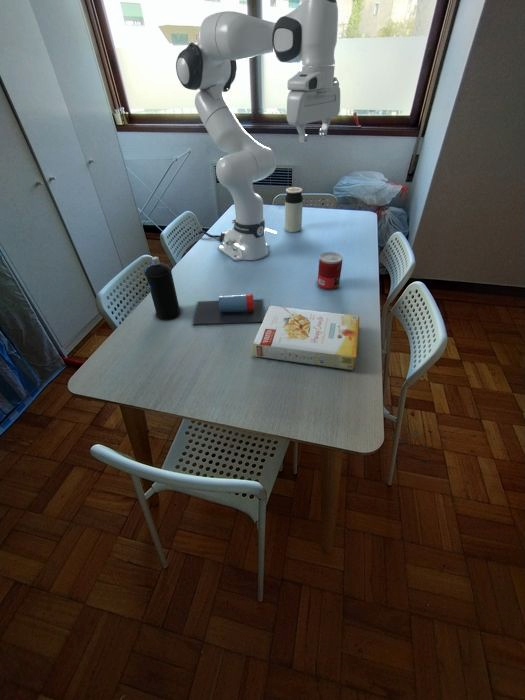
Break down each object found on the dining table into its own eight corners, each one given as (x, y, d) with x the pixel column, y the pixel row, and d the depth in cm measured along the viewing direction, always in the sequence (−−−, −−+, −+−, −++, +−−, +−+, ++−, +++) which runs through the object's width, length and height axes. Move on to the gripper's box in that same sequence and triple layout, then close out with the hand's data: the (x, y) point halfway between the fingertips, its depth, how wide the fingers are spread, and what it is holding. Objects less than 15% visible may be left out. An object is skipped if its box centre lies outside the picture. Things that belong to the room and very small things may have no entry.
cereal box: (357, 356, 90) (252, 342, 95) (354, 372, 93) (252, 357, 99) (360, 313, 105) (268, 303, 110) (357, 328, 108) (268, 317, 114)
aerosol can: (185, 308, 119) (174, 253, 106) (173, 322, 113) (159, 266, 100) (164, 304, 121) (150, 250, 108) (151, 317, 115) (135, 262, 102)
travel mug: (301, 232, 164) (303, 192, 153) (285, 232, 165) (285, 192, 153) (300, 225, 170) (302, 186, 158) (284, 226, 171) (284, 187, 159)
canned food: (338, 291, 124) (342, 262, 117) (316, 289, 126) (318, 261, 119) (339, 280, 130) (343, 252, 123) (317, 278, 131) (320, 251, 124)
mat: (193, 325, 112) (193, 324, 111) (198, 302, 121) (198, 301, 121) (262, 323, 111) (262, 321, 111) (261, 300, 121) (261, 299, 121)
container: (218, 301, 110) (252, 300, 110) (219, 292, 115) (252, 290, 114) (220, 316, 114) (253, 314, 114) (221, 306, 118) (253, 305, 118)
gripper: (329, 76, 100) (325, 132, 109) (282, 82, 89) (282, 143, 98) (348, 76, 97) (342, 134, 106) (302, 82, 86) (299, 146, 95)
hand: (313, 139), depth 102 cm, fingers open, 8 cm apart
